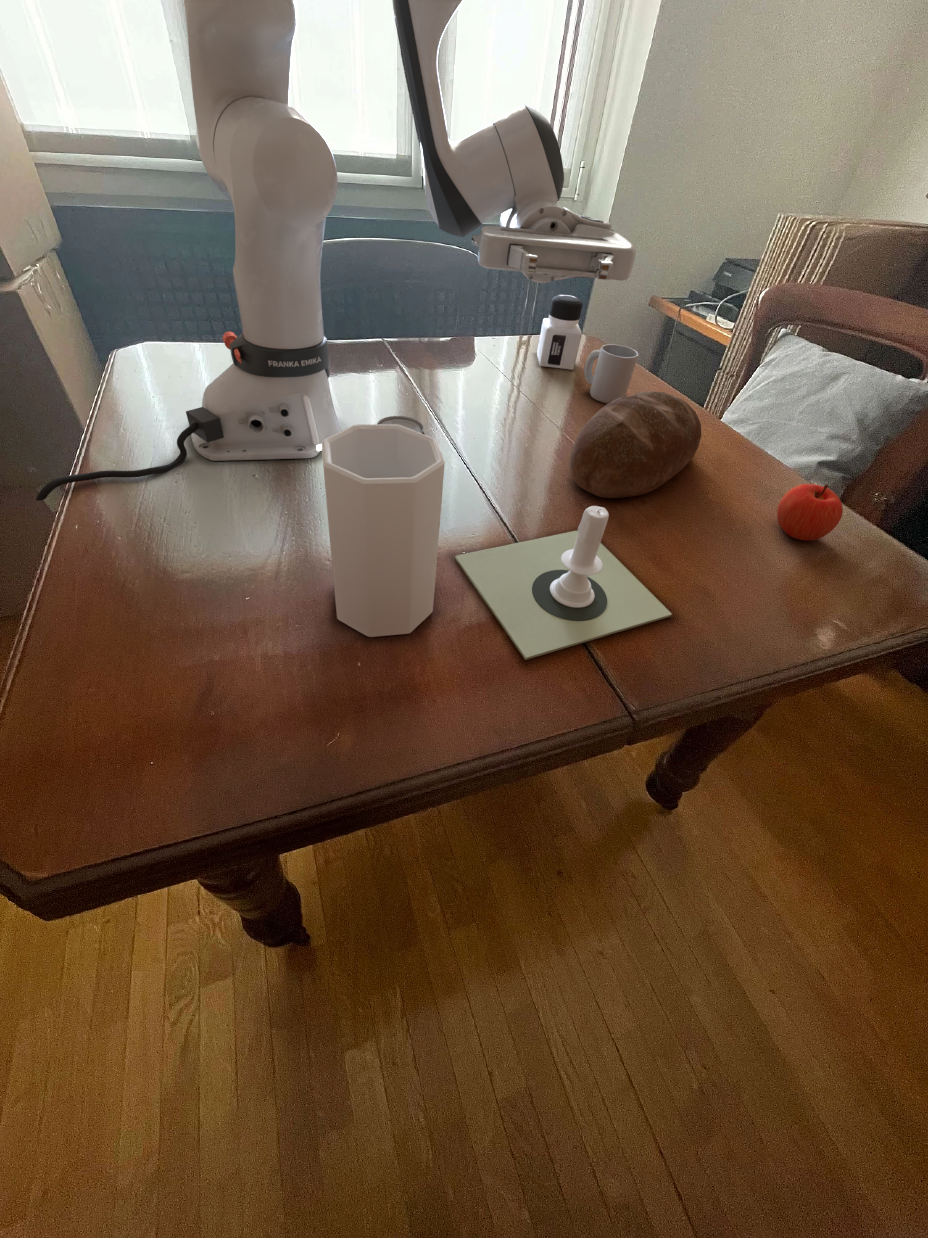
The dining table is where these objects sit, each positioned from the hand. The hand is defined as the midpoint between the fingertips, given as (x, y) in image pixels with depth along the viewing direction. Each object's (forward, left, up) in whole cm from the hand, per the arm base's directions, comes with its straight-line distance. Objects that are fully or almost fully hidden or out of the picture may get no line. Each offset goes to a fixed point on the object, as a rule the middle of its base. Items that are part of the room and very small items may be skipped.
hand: (568, 268), depth 65 cm
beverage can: (-22, -3, -28) cm, 36 cm away
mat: (-9, -24, -28) cm, 38 cm away
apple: (+32, -25, -28) cm, 49 cm away
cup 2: (+32, +25, -28) cm, 49 cm away
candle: (-9, -26, -27) cm, 39 cm away
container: (+32, +43, -28) cm, 60 cm away
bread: (+19, -2, -28) cm, 34 cm away
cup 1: (-30, -20, -28) cm, 46 cm away
